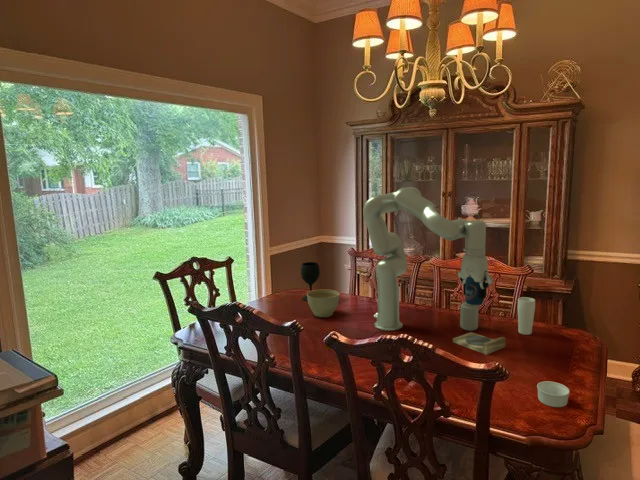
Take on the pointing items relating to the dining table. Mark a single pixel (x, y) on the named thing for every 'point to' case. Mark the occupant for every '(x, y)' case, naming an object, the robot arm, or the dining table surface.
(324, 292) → the planter bowl
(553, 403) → the ramekin
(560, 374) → the dining table surface
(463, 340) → the holder board
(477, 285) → the soda can
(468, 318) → the can
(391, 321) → the robot arm
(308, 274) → the wine glass
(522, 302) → the drinking glass
